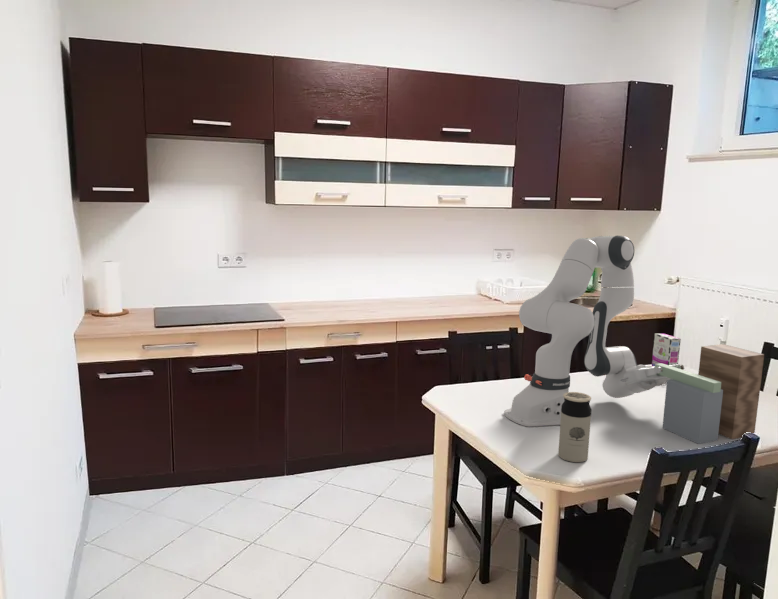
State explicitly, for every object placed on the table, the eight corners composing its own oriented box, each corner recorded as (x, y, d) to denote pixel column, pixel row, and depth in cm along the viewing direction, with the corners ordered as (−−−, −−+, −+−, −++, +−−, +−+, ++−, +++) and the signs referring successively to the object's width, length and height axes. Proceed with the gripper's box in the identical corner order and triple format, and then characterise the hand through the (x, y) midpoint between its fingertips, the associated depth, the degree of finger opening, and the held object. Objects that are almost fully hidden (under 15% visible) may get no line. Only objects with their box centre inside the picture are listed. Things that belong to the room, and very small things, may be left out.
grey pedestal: (698, 444, 177) (704, 392, 175) (662, 428, 190) (667, 380, 187) (717, 440, 180) (723, 390, 178) (680, 424, 193) (685, 377, 190)
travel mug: (559, 449, 172) (563, 390, 169) (588, 454, 169) (593, 393, 166) (556, 460, 165) (560, 398, 162) (586, 465, 162) (591, 402, 159)
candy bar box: (677, 377, 246) (681, 338, 244) (666, 377, 246) (670, 339, 243) (660, 369, 257) (664, 332, 255) (650, 369, 256) (653, 333, 254)
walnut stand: (731, 439, 181) (741, 357, 177) (693, 423, 194) (701, 346, 190) (754, 434, 185) (764, 354, 181) (714, 419, 198) (723, 344, 194)
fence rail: (713, 392, 175) (714, 383, 174) (654, 372, 195) (655, 364, 194) (720, 391, 176) (721, 382, 176) (661, 371, 196) (661, 363, 196)
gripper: (614, 372, 199) (644, 361, 187) (659, 366, 207) (691, 355, 195) (620, 390, 197) (650, 380, 185) (665, 384, 205) (697, 374, 193)
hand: (671, 368), depth 190 cm, fingers open, 8 cm apart
